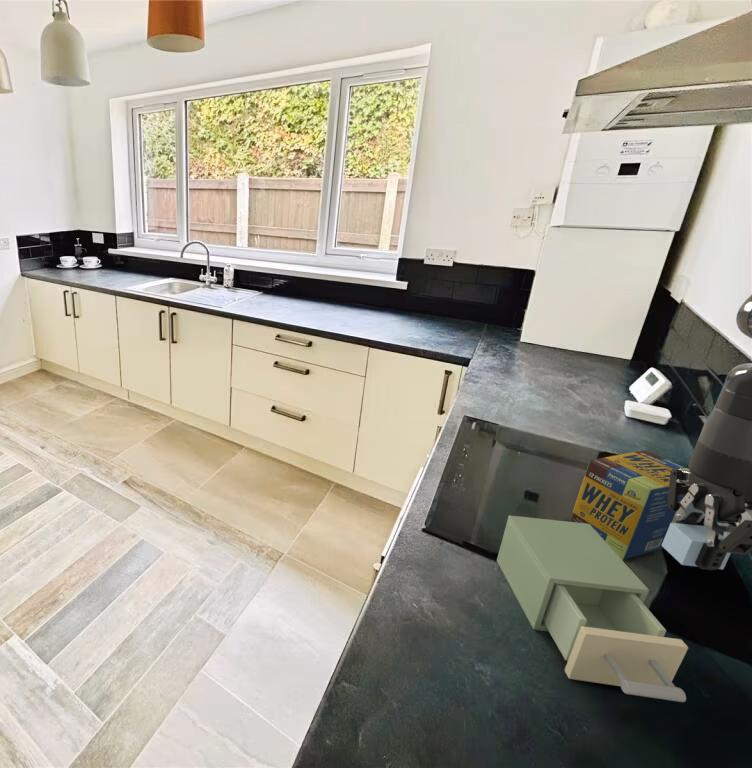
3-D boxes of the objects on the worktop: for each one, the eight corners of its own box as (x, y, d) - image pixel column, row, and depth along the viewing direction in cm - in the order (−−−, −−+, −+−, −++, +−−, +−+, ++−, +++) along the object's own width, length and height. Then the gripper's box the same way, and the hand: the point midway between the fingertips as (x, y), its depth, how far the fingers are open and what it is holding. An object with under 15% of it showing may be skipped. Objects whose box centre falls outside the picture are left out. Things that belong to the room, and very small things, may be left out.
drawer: (696, 734, 53) (723, 686, 50) (590, 717, 55) (609, 670, 52) (603, 608, 70) (619, 567, 67) (524, 598, 72) (536, 558, 69)
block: (700, 549, 65) (710, 526, 64) (723, 569, 62) (734, 545, 60) (661, 545, 66) (670, 522, 65) (681, 565, 62) (692, 541, 61)
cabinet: (627, 642, 66) (649, 590, 62) (533, 629, 67) (550, 578, 64) (573, 569, 79) (589, 523, 76) (496, 560, 81) (508, 515, 77)
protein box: (565, 528, 90) (588, 459, 84) (621, 515, 94) (646, 449, 89) (621, 565, 80) (650, 489, 75) (680, 549, 85) (711, 476, 79)
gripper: (833, 479, 51) (769, 599, 57) (726, 425, 64) (683, 527, 70) (756, 472, 52) (701, 591, 58) (666, 420, 65) (629, 521, 71)
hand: (691, 555), depth 64 cm, fingers closed on block, 4 cm apart
